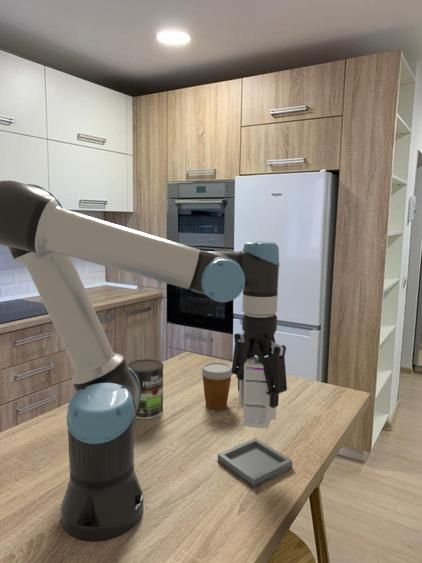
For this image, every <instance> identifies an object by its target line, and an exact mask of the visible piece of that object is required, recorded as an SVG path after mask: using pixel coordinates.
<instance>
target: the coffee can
mask: <svg viewBox="0 0 422 563" xmlns="http://www.w3.org/2000/svg"><path fill="white" fill-rule="evenodd" d="M127 366H128V367H129V368H130V369H132V370H133V371H134V373H135V374H136V375H137V377H138V380H139V383H140V387H141V390H140V391H141V398H140V402H139V406H138V410H137V415H136V420H141V421H142V420H146V421H147V420H151V419H155V418H157V417H160V416H161V415H162V414H163V412H164V405H163V404H164V363H163V362H162V361H159V360H156V359H151V358H149V359H148V358H147V359H138V360H137V359H136V360H132V361H130V362H129V363H127Z"/></svg>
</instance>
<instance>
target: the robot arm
mask: <svg viewBox="0 0 422 563" xmlns="http://www.w3.org/2000/svg"><path fill="white" fill-rule="evenodd" d="M62 205H63V204H61V202H60V201H59V199H58V198H57V196H56V195H54V193H52V192H50V191H49V190H47V188H44V187H42V186H40V185H36V184H31V183H22V182H19V181H15V180H0V245H1V246H4V247H7V248H8V249H9V252H10V254H11V256H12V259H13V261H14V262H17V263H19V264H23V265H24V266H25V267H26V269H27V271H28V273H29V274H30V277H31V280H32V281H33V284H34V285H35V288H36V290H37V292H38V294H39V297H40V299H41V300H42V302H43V304H44V307H45V309H46V311H47V313H48V315H49V318H50V319H51V320H50V321H51V322H52V324H53V326H54V328H55V330H56V332H57V335H58V337H59V339H60V341H61V343H62V345H63V348H64V349H65V351H66V353H67V355H68V358H69V360H70V362H71V365H72V366H73V369H74V373H73V376H72V379H71V382H72V385H73V387H74V390H75V391H76V393H75V394H73V395H72V396H71V398H70V400H69V402H68V405H67V413H66V425H67V433H68V435H67V438H68V440H67V441H68V463H69V464H68V465H69V481H68V484H67V486H66V490H65V493H64V496H63V500H62V503H61V509H60V515H61V516H60V517H61V525H62V528H63V530H64V531H66V533H67V534H69V535H70V536H71V537H74V538H75V539H79V540H82V541H90V542H93V541H95V542H97V541H104V540H105V541H106V540H109V539H113V538H116V537H119V536H120V535H122V534H124V533H126V532H128V531H129V530H130V529H132V528H133V527H134V526H135V525H136V524H137V523H138V522H139V521H140V519H141V517H142V516H143V512H144V503H145V502H144V493H143V490H142V487H141V485H140V482H139V479H138V476H137V475H136V472H135V464H134V463H135V462H134V461H135V460H134V459H135V454H134V453H135V450H134V448H135V447H134V446H135V444H134V437H135V436H134V432H135V425H136V420H137V419H136V415H137V410H138V406H139V402H140V398H141V391H140V390H141V387H140V383H139V380H138V377H137V375H136V374H135V373H134V371H133V370H132V369H130V368H129V367H128V366H127V365H128V363H127V362H126V359H125V357H124V356H123V355H122V354H120V353H115V352H114V351H113V349H112V348H113V347H112V346H111V343H110V341H109V339H108V338H107V334H106V333H105V330H104V328H103V326H102V324H101V321H100V319H99V317H98V315H97V313H96V310H95V308H94V306H93V304H92V301H91V299H90V297H89V295H88V292H87V290H86V288H85V286H84V284H83V281H82V279H81V277H80V274H79V272H78V271H77V268H76V265H75V264H74V261H73V259H72V258H74V259H79V260H83V261H86V262H89V263H92V264H97V265H99V266H103V267H107V268H111V269H115V270H118V271H122V272H125V273H128V274H131V275H132V274H133V275H136V276H140V277H142V278H143V277H144V278H147V279H150V280H153V281H158V282H161V283H165V284H168V285H172V286H176V287H179V288H184V289H187V290H190V291H192V292H195V293H198V294H203V295H205V296H206V297H208V298H209V299H211V300H213V301H215V302H219V303H228V302H231V301H234V300H235V299H237V298H238V297H240V295H241V293H242V304H241V306H242V308H241V311H242V312H243V314H242V316H241V329H242V331H243V332H238V333H234V335H233V337H234V350H233V357H232V364H231V368H232V373H233V374H232V375H236V378H237V391H238V408H240V409H242V408H243V405H244V363H245V361H246V360H247V359H249V358H252V357H255V356H258V357H259V361H260V362H261V363H262V364H263V366H264V374H265V379H266V383H267V387H268V392H266V393H265V421H266V422H269V421H270V422H271V421H274V420H276V418H277V407H278V406H279V403H280V402H279V399H280V398H279V397H280V394H281V393H285V392H287V391H288V384H287V374H286V373H287V372H286V371H287V370H286V359H285V356H286V351H287V347H286V345H284V344H282V345H280V344H278V343H277V342H276V340H275V334H276V332H277V330H278V329H277V328H278V325H277V324H278V316H277V312H278V300H279V299H278V298H279V297H278V296H279V292H278V290H279V289H278V288H279V273H280V248H279V245H278V244H277V243H276V242H273V241H245V243H244V244H243V248H242V250H239V251H225V250H224V251H220V250H219V251H216V250H214V251H212V250H211V251H210V250H202V249H199V248H196V247H194V246H193V247H192V246H188V245H186V244H182V243H179V242H175V241H172V240H169V239H166V238H162V237H159V236H155V235H151V234H148V233H146V232H143V231H139V230H135V229H132V228H128V227H125V226H122V225H119V224H115V223H111V222H109V221H105V220H102V219H98V218H95V217H93V216H88V215H86V214H83V213H80V212H76V211H73V210H72V211H71V210H68V209H65V208H63V206H62Z"/></svg>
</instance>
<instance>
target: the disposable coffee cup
mask: <svg viewBox="0 0 422 563" xmlns="http://www.w3.org/2000/svg"><path fill="white" fill-rule="evenodd" d="M200 373H201V376H202V381H203V384H202V385H203V392H204V399H205V400H204V401H205V406H206V408H207V409H209V410H214V411H220V410H225V409H226V408H227V406H228V400H229V399H228V398H229V392H230V386H231V380H232V376H233V375H234V374H233V373H232V365H230V364H227V363H225V362H208V363H205V364H203V365H202V369H201V370H200Z"/></svg>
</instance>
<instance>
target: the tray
mask: <svg viewBox="0 0 422 563" xmlns="http://www.w3.org/2000/svg"><path fill="white" fill-rule="evenodd" d="M217 462H218V463H219V464H221V465H222V467H224V468H226V469H228V470H229V471H230V472H232V473H233V474H235V476H236V477H238V478H239V479H240V480H242V481H244V482H245V483H246V484H248V485H249V486H251V487H252V488H253V489H254V488H256V487H258V486H260V485H262V484H264V483H265V482H268V481H269V480H271V479H273V478H275V477H277V476H279V475H281V474H283V473H285V472H286V471H288V470H290V469H293V459H291V458H290V457H287V456H286V455H284V454H283V453H281V452H279V451H277V449H274V448H273V447H271V446H269V445H268V444H266V443H265V442H263V441H261V440H260V439H258V438H256V437H255V438H252V439H250V440H248V441H245V442H243V443H241V444H240V443H239V444H238V445H236V446H234V447H231V448H229V449H227V450H225V451H221V452H220V453H217Z"/></svg>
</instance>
